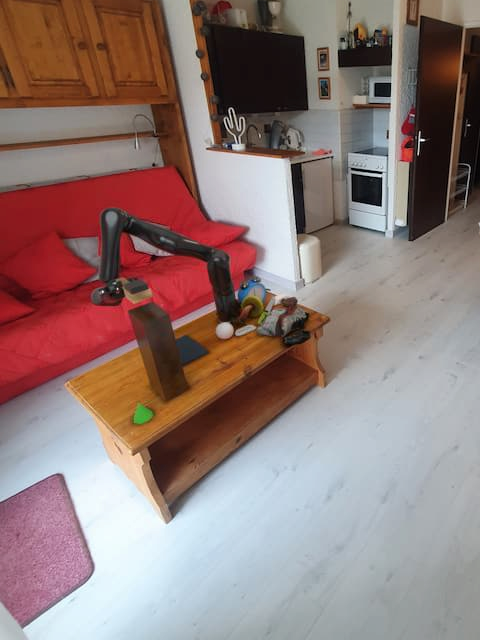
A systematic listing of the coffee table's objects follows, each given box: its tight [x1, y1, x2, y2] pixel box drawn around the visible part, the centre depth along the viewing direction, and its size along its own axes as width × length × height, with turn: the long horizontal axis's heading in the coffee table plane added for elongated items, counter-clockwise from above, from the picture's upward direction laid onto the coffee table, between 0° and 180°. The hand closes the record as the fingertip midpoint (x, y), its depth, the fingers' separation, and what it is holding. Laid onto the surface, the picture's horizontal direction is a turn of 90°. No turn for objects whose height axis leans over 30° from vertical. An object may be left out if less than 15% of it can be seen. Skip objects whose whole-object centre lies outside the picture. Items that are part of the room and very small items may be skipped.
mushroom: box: [230, 295, 265, 326], centre depth 175 cm, size 12×12×15 cm
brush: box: [116, 277, 153, 305], centre depth 126 cm, size 6×18×5 cm, turn 50°
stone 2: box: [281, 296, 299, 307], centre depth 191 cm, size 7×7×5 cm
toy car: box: [282, 329, 312, 348], centre depth 162 cm, size 6×12×4 cm, turn 100°
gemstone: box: [133, 403, 154, 425], centre depth 124 cm, size 6×6×6 cm
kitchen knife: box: [256, 295, 275, 326], centre depth 184 cm, size 22×1×3 cm
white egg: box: [215, 322, 235, 340], centre depth 164 cm, size 10×7×7 cm
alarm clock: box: [237, 275, 267, 305], centre depth 187 cm, size 13×6×15 cm, turn 143°
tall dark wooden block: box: [127, 301, 189, 403], centre depth 130 cm, size 8×12×32 cm, turn 50°
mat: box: [175, 334, 209, 367], centre depth 157 cm, size 12×18×1 cm, turn 50°
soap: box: [234, 324, 258, 337], centre depth 170 cm, size 10×4×1 cm, turn 135°
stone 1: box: [255, 308, 287, 338], centre depth 175 cm, size 22×3×10 cm
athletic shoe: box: [275, 305, 310, 338], centre depth 168 cm, size 12×25×12 cm
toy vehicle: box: [272, 292, 292, 307], centre depth 195 cm, size 12×2×4 cm
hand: (125, 281), depth 129 cm, fingers closed on brush, 2 cm apart
